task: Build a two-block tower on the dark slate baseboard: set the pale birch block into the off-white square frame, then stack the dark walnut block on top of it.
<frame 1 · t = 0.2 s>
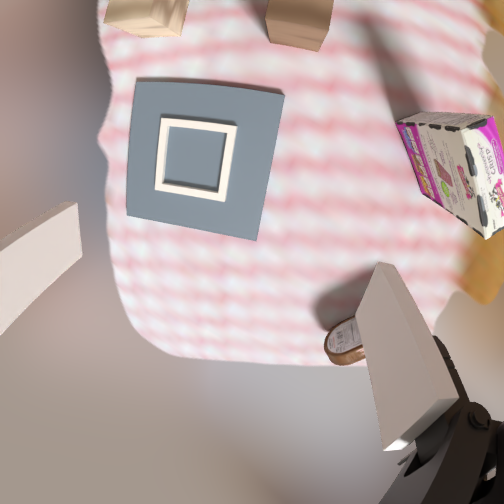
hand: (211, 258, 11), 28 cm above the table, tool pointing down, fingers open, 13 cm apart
baseboard: (196, 157, 37), on the table
candy bar box: (422, 152, 32), on the table
birch block: (165, 18, 28), on the table
walnut block: (298, 27, 27), on the table
square frame: (193, 158, 35), on the baseboard, point 1 cm above the table
tin: (362, 315, 45), on the table
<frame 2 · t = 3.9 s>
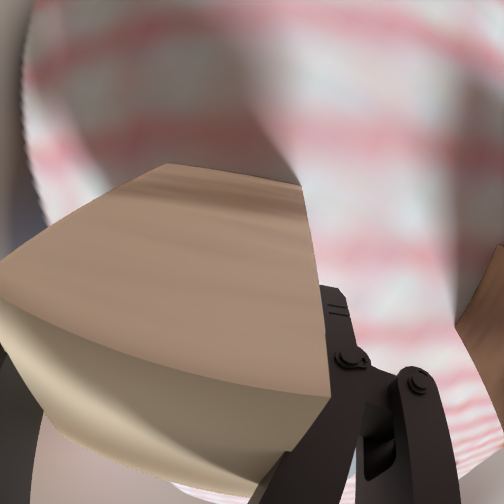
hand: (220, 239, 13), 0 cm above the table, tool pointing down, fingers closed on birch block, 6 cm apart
birch block: (222, 235, 13), on the table, touching gripper
walnut block: (503, 294, 13), on the table
when the fingers open (3 cm above the table, at t = 10.9 s): birch block drops 1 cm, resting on baseboard.
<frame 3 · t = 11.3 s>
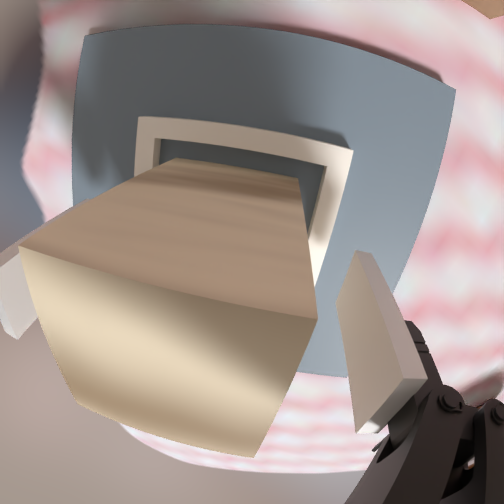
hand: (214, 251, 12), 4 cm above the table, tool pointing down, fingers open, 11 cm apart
baseboard: (232, 217, 15), on the table
birch block: (226, 223, 15), point 1 cm above the table, touching baseboard
square frame: (227, 227, 14), on the baseboard, point 1 cm above the table
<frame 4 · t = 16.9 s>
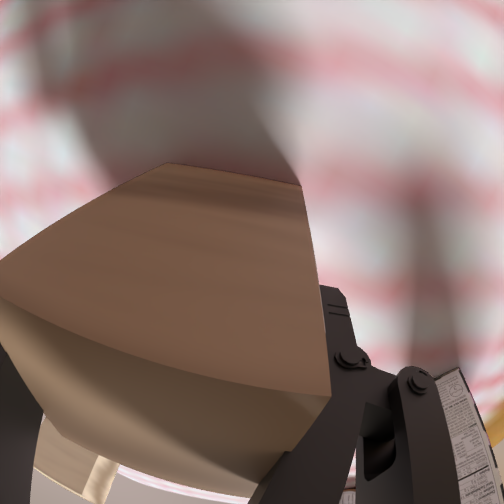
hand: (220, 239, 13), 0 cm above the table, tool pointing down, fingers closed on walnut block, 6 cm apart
candy bar box: (436, 404, 19), on the table
birch block: (101, 407, 22), point 1 cm above the table, touching baseboard
walnut block: (222, 235, 13), on the table, touching gripper
tin: (326, 492, 32), on the table
when the fingers open (13 cm above the table, at t = 23.1 s): walnut block drops 1 cm, resting on birch block.
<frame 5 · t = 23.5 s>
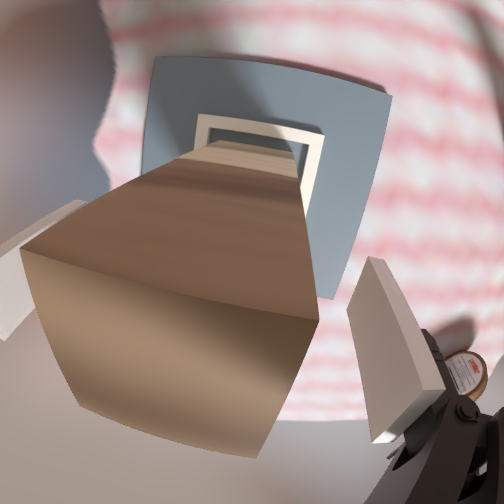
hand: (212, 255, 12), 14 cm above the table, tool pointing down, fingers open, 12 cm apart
baseboard: (252, 178, 24), on the table
birch block: (250, 180, 23), point 1 cm above the table, touching baseboard, walnut block
walnut block: (227, 224, 15), point 11 cm above the table, touching birch block
square frame: (250, 181, 23), on the baseboard, point 1 cm above the table
tin: (432, 367, 33), on the table
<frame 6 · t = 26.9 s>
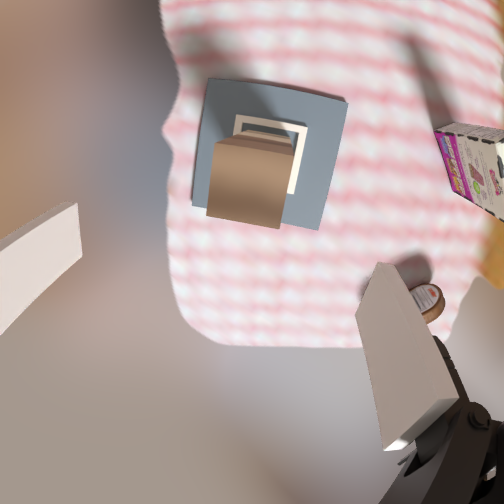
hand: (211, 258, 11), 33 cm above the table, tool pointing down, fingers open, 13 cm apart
baseboard: (266, 152, 40), on the table
candy bar box: (453, 156, 36), on the table
birch block: (265, 153, 39), point 1 cm above the table, touching baseboard, walnut block
walnut block: (259, 165, 31), point 11 cm above the table, touching birch block
square frame: (265, 153, 39), on the baseboard, point 1 cm above the table
tin: (400, 298, 49), on the table
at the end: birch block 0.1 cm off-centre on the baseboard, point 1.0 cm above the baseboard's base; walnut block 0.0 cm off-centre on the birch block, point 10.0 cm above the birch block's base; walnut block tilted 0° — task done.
